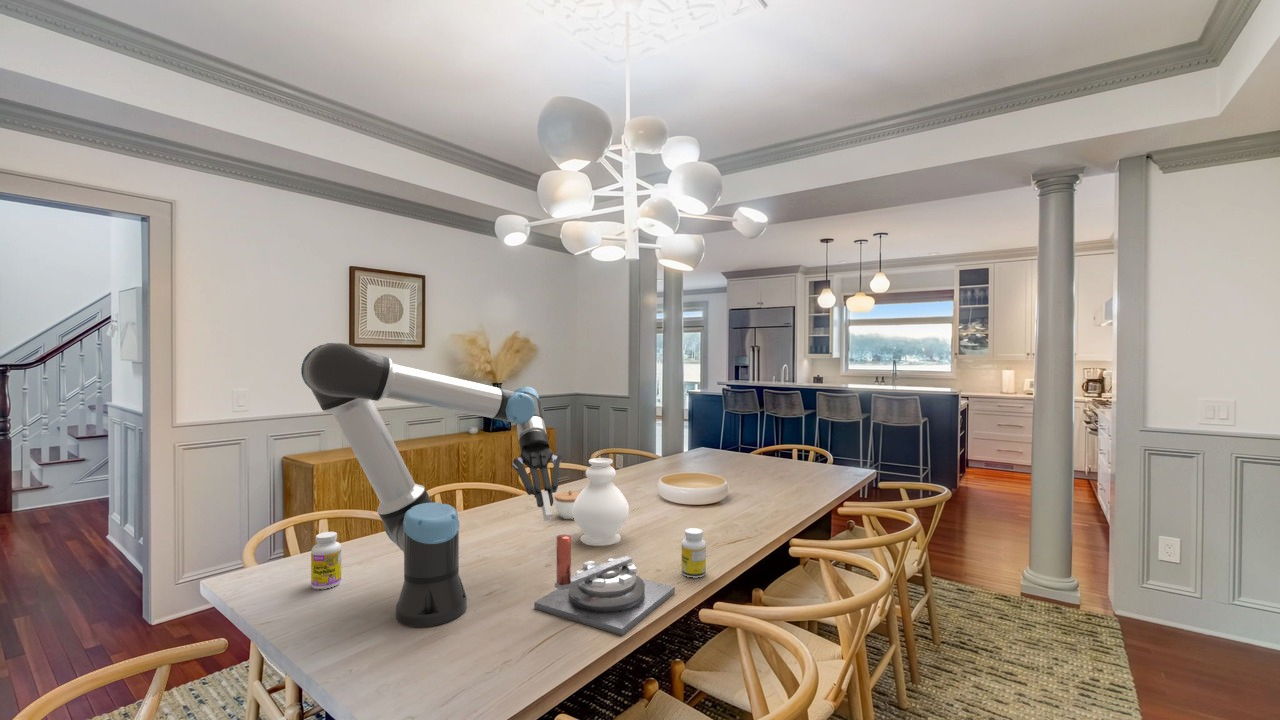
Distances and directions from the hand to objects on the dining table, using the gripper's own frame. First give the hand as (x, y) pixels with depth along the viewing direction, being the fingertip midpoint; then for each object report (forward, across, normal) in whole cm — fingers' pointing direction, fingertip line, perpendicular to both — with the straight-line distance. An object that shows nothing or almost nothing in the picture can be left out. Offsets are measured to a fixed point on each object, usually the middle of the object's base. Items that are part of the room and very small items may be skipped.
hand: (548, 517), depth 134 cm
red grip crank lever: (+17, -9, -4) cm, 20 cm away
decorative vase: (-10, -26, -38) cm, 47 cm away
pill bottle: (+15, -39, -12) cm, 44 cm away
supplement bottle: (-6, +50, -34) cm, 61 cm away
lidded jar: (-28, -23, -57) cm, 68 cm away
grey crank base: (+19, -12, -8) cm, 24 cm away
